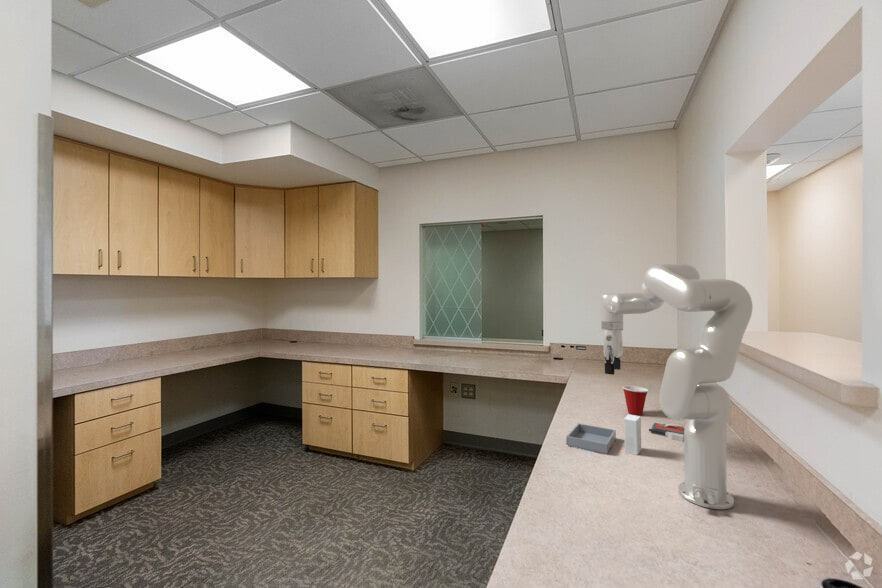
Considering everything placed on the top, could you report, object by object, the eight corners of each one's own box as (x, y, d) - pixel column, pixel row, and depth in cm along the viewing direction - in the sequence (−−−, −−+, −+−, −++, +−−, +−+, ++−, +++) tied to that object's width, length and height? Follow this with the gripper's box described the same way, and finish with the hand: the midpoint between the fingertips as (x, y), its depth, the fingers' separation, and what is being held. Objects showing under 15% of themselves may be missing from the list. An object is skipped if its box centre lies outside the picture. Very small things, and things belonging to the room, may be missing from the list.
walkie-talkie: (647, 435, 149) (709, 448, 137) (647, 424, 149) (709, 435, 137) (652, 428, 156) (711, 440, 143) (651, 417, 156) (711, 428, 143)
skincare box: (628, 446, 138) (628, 413, 138) (641, 449, 135) (641, 416, 135) (624, 452, 133) (623, 418, 133) (637, 455, 131) (637, 420, 131)
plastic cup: (654, 415, 170) (654, 389, 170) (637, 419, 166) (636, 391, 166) (634, 408, 180) (634, 383, 180) (617, 411, 176) (616, 386, 176)
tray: (607, 454, 132) (606, 444, 132) (566, 445, 140) (566, 436, 140) (615, 439, 145) (615, 430, 145) (578, 431, 153) (578, 423, 153)
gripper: (617, 328, 133) (618, 377, 134) (627, 324, 147) (628, 368, 147) (595, 328, 138) (596, 374, 138) (607, 323, 152) (608, 366, 152)
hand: (612, 371), depth 143 cm, fingers open, 9 cm apart
